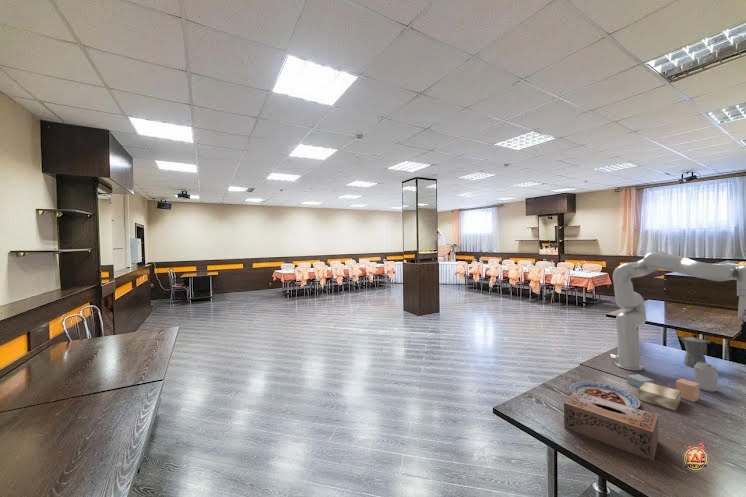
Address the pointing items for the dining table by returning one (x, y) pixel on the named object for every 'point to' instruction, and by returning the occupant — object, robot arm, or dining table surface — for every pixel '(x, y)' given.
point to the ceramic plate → (606, 393)
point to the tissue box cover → (612, 423)
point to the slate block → (638, 380)
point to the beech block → (660, 395)
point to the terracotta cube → (688, 389)
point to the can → (706, 376)
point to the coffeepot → (696, 350)
